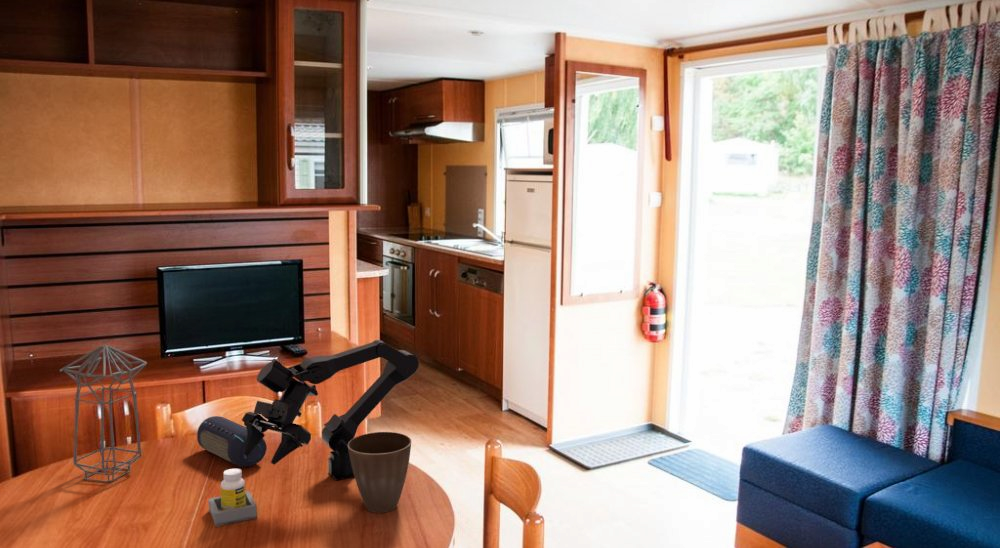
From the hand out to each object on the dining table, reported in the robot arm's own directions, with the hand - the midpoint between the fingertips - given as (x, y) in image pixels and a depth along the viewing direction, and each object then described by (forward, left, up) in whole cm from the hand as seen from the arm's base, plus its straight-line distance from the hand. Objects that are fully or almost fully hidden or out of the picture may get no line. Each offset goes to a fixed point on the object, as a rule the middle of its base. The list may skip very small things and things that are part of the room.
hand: (258, 459), depth 187 cm
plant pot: (-25, +16, -11) cm, 32 cm away
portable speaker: (+1, -33, -11) cm, 35 cm away
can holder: (+7, +4, -11) cm, 13 cm away
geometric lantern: (+31, -35, -11) cm, 48 cm away
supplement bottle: (+7, +4, -10) cm, 13 cm away
